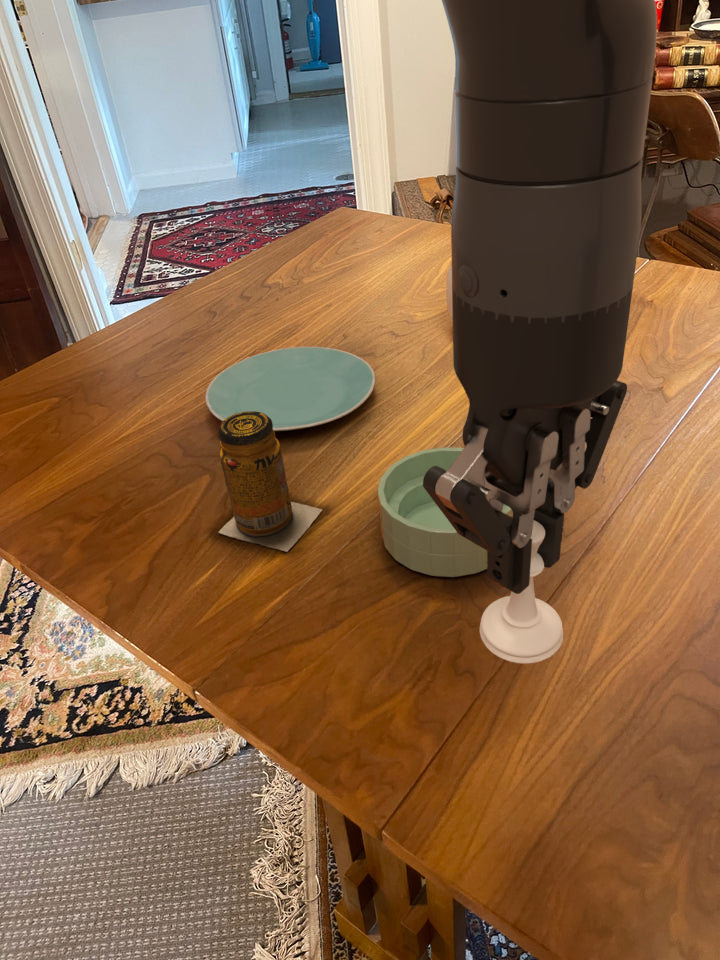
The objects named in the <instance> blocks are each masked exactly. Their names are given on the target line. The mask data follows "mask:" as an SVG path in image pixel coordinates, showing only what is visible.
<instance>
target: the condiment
mask: <svg viewBox="0 0 720 960" xmlns="http://www.w3.org/2000/svg"><path fill="white" fill-rule="evenodd" d="M217 434H218V437H219V445H220V447H221V449H220V451H219V459H220V465H221V469H222V472H223V475H224V476H223V477H224V482H225V486H226V491H227V493H228V497H229V502H230V506H231V509H232V514H233V517H232V518H231V519H230V520H229V521H228V522H226V523H225V525H223V526H222V528H221V529H219V531H218V532H217V533H218V534H221V535H224V536H227V537H229V538H233V539H237V540H239V541H245V542H247V543H252V544H258V545H260V546H263V547H267V548H270V549H273V550H275V549H276V550H279V551H283V552H286V553H288V552H289V550H290V549H291V548H292V547H293V546H294V545H295V544H296V543H297V542H298V540H299V539H301V537H302V536H303V535H304V534H305V533H306V531H307V530H308V529H309V528H310V526H311V525H312V524H313V523H314V521H315V520H316V519H317V518H318V516H319V515H320V514H321V512H322V511H323V509H321V508H318V507H315V506H311V505H308V504H302V503H300V502H294V501H291V496H290V491H289V487H288V485H289V484H288V481H287V475H286V469H285V463H284V458H283V453H282V452H283V451H282V448H281V443H280V442H279V440H278V438H276V431H274V430H273V424H272V420H271V419H270V418H269V417H268V416H267V415H266V414H264V413H261V412H255V411H246V412H240V413H237V414H234V415H232V416H230V417H228V418H226V419H225V420H224V421H223V422H222V421H220V424H219V427H218V432H217Z"/></svg>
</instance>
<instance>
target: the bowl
mask: <svg viewBox="0 0 720 960" xmlns="http://www.w3.org/2000/svg"><path fill="white" fill-rule="evenodd" d="M464 448H465V447H455V446H454V447H453V446H452V447H451V446H442V447H436V448H435V447H434V448H429V449H422V450H419V451H416V452H413V453H411V454H408V455H406V456H403V457H402V458H400V459H399V460H397V461H395V462H394V463H393V464H391V465H390V466H388V468H387V469H386V471H385V472H384V473H383V474H382V475H381V477H380V480H379V483H378V486H377V493H376V494H377V501H378V502H377V503H378V513H379V524H380V535H381V538H382V542H383V546H384V548H385V549H386V551H388V553H389V554H390V555H391V556H392V558H393V559H394V560H395V561H397V562H398V563H400V564H401V565H403V566H404V567H406V568H407V569H409V570H411V571H414V572H418V573H421V574H424V575H427V576H433V577H447V578H455V577H457V578H458V577H462V576H467V575H474V574H479V573H480V572H483V571H485V570H487V566H488V565H487V560H488V559H487V550H485V549H483V548H482V547H480V546H478V545H476V544H475V543H473V542H471V541H470V540H468V539H466V538H464V537H463V536H461V535H459V534H458V533H457V531H456V530H455V529H454V527H453V526H452V525H451V523H450V522H449V521H448V519H447V518H446V517H445V515H444V514H443V513H442V511H441V510H440V509H439V507H438V506H437V504H436V503H435V502H434V500H433V499H432V498H431V496H430V495H429V494H428V492H427V491H426V490H425V488H424V487H423V479H424V476H425V474H426V472H427V471H428V470H429V469H430V468H431V467H433V466H439V467H440V468H442V469H444V470H446V471H447V470H448V469H449V468H450V466H451V465H452V464H453V462H454V461H455V460H456V458H457V457H458V456H459V454H460V453H461V452H462V450H463V449H464ZM502 512H503V513H505V514H507V515H509V516H511V517H513V511H512V509H511V508H510V507H509V506H507V505H505V504H503V509H502Z"/></svg>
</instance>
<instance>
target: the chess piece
mask: <svg viewBox="0 0 720 960" xmlns="http://www.w3.org/2000/svg"><path fill="white" fill-rule="evenodd" d="M544 537H545V529H544V527H543V526H542V525H541V524H540V523H539V522H537V521H535V520H534V521H533V529H532V535H531V539H532V548H531V564H530V581H529V586H528V587H527V588H526V589H525V590H523V591H522V592H521V593H520V594H516V593H514V592H512V591H510V595H507V596H503V597H501V598H498V599H496V600H494V601H493V602H491V603H490V604H488V606H487V607H486V608H485V610H484V611H483V612H482V616H481V618H480V623H479V635H480V638H481V641H482V643H483V645H484V646H485V647H486V649H488V650H489V651H490V652H491V653H492V654H493V655H495V656H496V657H498V658H500V659H502V660H505V661H507V662H511V663H514V664H535V663H539V662H542V661H545V660H547V659H549V658H550V657H552V656H554V655H555V654H556V653H557V651H559V649H560V647H562V644H563V640H564V630H563V622H562V619H561V617H560V615H559V614H558V612H557V611H556V610H555V608H554V607H552V605H550V604H548V603H547V602H546V601H543V600H541V599H539V598H537V597H536V593H535V585H534V577H536V576H538V575H540V574H541V573H542V572H543V570H544V568H545V567H544V562H543V559H542V557H541V556H540V555H539V554H538V553H537V551H538V548H539V546H540V544H541V543H542V541H543V539H544Z"/></svg>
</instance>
